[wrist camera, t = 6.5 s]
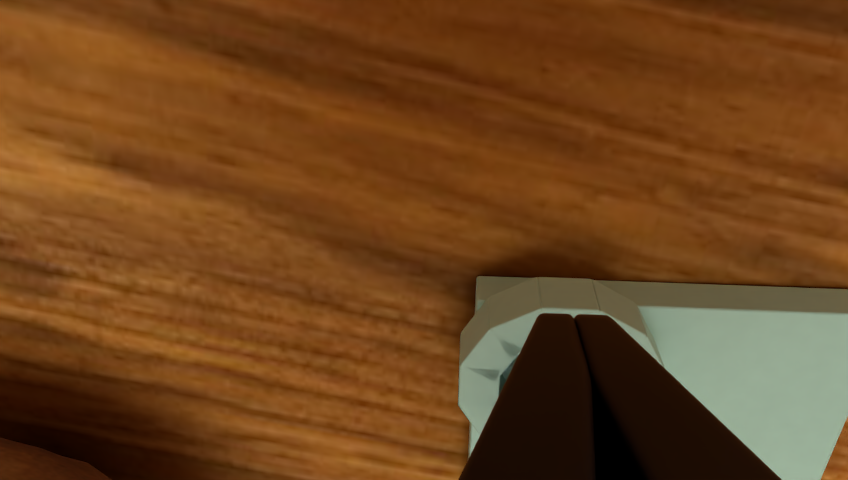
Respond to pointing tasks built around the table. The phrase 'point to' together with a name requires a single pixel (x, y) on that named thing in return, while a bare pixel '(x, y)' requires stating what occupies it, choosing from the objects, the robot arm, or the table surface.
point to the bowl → (41, 464)
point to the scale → (691, 353)
